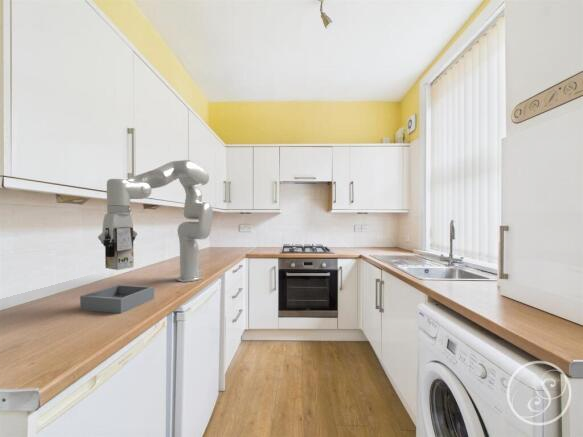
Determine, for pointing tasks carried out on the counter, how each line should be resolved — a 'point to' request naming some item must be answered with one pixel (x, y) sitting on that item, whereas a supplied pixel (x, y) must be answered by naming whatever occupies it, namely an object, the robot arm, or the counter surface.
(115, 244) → the coffee box
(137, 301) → the box
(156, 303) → the counter surface
